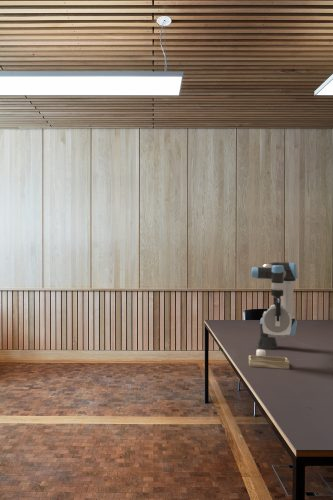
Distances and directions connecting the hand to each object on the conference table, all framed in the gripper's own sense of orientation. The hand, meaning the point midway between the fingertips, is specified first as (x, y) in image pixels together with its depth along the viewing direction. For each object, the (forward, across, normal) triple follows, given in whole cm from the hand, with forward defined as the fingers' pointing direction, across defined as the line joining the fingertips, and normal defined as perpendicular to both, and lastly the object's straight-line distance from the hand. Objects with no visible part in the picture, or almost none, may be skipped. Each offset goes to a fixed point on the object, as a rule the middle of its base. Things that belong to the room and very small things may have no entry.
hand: (276, 324), depth 272 cm
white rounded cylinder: (+26, -9, -8) cm, 28 cm away
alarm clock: (+8, 0, 0) cm, 8 cm away
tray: (+25, +1, -5) cm, 26 cm away
